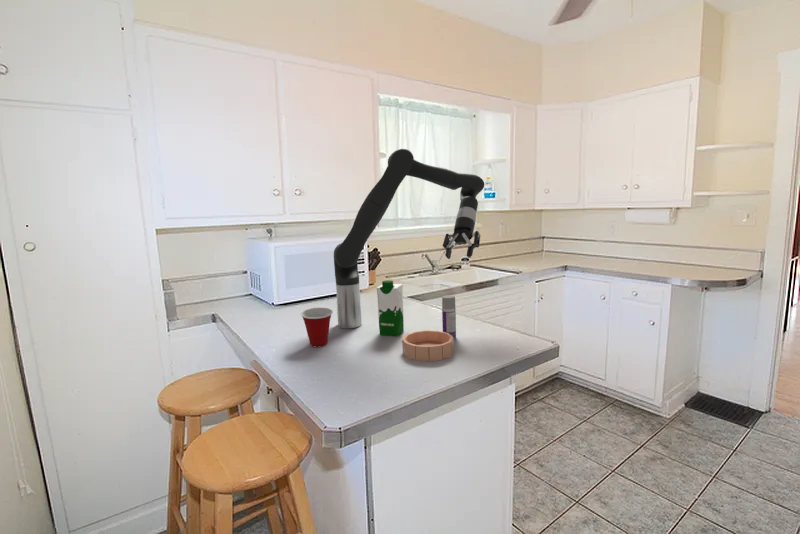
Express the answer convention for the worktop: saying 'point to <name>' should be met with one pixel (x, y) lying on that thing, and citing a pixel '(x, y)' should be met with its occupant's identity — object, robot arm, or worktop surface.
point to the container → (449, 315)
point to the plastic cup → (317, 325)
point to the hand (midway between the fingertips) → (458, 257)
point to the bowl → (428, 345)
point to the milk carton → (390, 308)
